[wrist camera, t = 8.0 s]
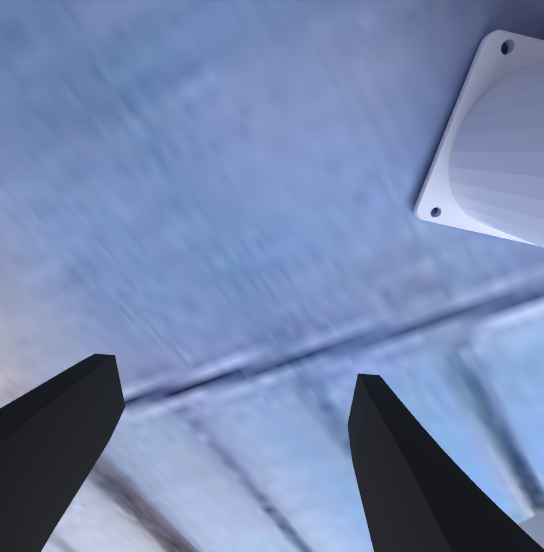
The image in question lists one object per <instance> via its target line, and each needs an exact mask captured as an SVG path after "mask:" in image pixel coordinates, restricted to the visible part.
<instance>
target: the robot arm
mask: <svg viewBox="0 0 544 552" xmlns="http://www.w3.org/2000/svg"><path fill="white" fill-rule="evenodd" d="M504 42H505V43H506V44H507V45H508V51H507V53H506V54H505V55H504V54H503V53H502V52H501V46H502V44H503V43H504ZM435 207H437V208H438V212H437V213H436V215H434V216H431V210H432V209H433V208H435ZM414 214H415V216H416V217H418V218H420V219H422V220H426V221H431V222H435V223H439V224H444V225H448V226H453V227H457V228H462V229H466V230H470V231H475V232H479V233H484V234H488V235H492V236H497V237H501V238H506V239H510V240H515V241H519V242H523V243H528V244H532V245H537V246H541V247H544V40H541V39H537V38H532V37H528V36H524V35H520V34H516V33H512V32H508V31H504V30H495V31H493V32H491V33H489V34H488V35H486V36H485V37H484V38H483V39H482V41H481V43H480V45H479V47H478V50H477V52H476V55H475V57H474V60H473V62H472V65H471V67H470V70H469V72H468V75H467V77H466V80H465V82H464V85H463V87H462V90H461V92H460V95H459V97H458V100H457V102H456V105H455V107H454V110H453V112H452V115H451V117H450V119H449V122H448V124H447V127H446V129H445V132H444V134H443V137H442V139H441V142H440V144H439V147H438V149H437V152H436V154H435V157H434V159H433V162H432V164H431V167H430V169H429V172H428V174H427V177H426V179H425V182H424V184H423V187H422V189H421V192H420V194H419V197H418V199H417V202H416V204H415V207H414ZM124 408H125V403H124V398H123V393H122V388H121V383H120V378H119V373H118V369H117V364H116V359H115V355H104V354H94V355H92V356H90V357H88V358H86V359H84V360H82V361H81V362H79V363H77V364H75V365H74V366H72V367H70V368H68V369H67V370H65V371H63V372H62V373H60V374H58V375H57V376H55V377H53V378H52V379H50V380H48V381H46V382H45V383H43V384H41V385H40V386H38V387H36V388H35V389H33V390H31V391H29V392H28V393H26V394H24V395H23V396H21V397H19V398H17V399H16V400H14V401H12V402H11V403H9V404H7V405H5V406H4V407H2V408H0V552H41V551H42V549H43V547H44V546H45V544H46V542H47V540H48V539H49V537H50V535H51V534H52V532H53V530H54V529H55V527H56V525H57V524H58V522H59V521H60V519H61V517H62V516H63V514H64V513H65V511H66V509H67V508H68V506H69V505H70V503H71V501H72V500H73V498H74V497H75V495H76V493H77V492H78V490H79V489H80V487H81V485H82V484H83V482H84V481H85V479H86V477H87V476H88V474H89V473H90V471H91V469H92V468H93V466H94V465H95V463H96V461H97V460H98V458H99V457H100V455H101V453H102V452H103V450H104V448H105V447H106V445H107V443H108V442H109V440H110V438H111V436H112V434H113V432H114V430H115V428H116V426H117V423H118V421H119V419H120V417H121V415H122V412H123V410H124ZM348 432H349V440H350V447H351V454H352V461H353V466H354V470H355V475H356V479H357V483H358V487H359V491H360V496H361V500H362V504H363V508H364V512H365V516H366V520H367V524H368V528H369V533H370V537H371V541H372V545H373V549H374V552H544V549H543V548H542V547H541V546H540V545H539V544H537V543H536V542H535V541H534V540H533V539H532V538H531V537H530V536H529V535H528V534H526V533H525V531H524V530H522V529H521V528H520V527H519V526H518V525H517V524H516V523H515V522H514V521H513V520H512V519H511V518H510V517H509V516H508V515H507V514H505V513H504V512H503V511H502V510H501V509H500V508H499V507H498V506H497V505H496V504H495V503H494V502H493V501H492V500H491V499H490V498H489V497H488V496H487V495H486V494H485V493H484V492H483V491H482V490H481V489H480V488H479V487H478V486H477V485H476V484H475V483H474V482H473V481H472V480H471V479H470V478H469V477H468V476H467V475H466V474H465V473H464V472H463V471H462V470H461V469H460V468H459V466H458V465H457V464H456V463H455V462H454V461H453V460H452V459H451V458H450V457H449V456H448V455H447V454H446V453H445V452H444V450H443V449H442V448H441V447H440V446H439V445H438V444H437V443H436V441H435V440H434V439H433V438H432V437H431V436H430V435H429V433H428V432H427V431H426V430H425V429H424V428H423V427H422V426H421V424H420V423H419V422H418V421H417V420H416V419H415V417H414V416H413V415H412V414H411V413H410V411H409V410H408V409H407V408H406V407H405V405H404V404H403V403H402V402H401V401H400V399H399V398H398V397H397V396H396V395H395V393H394V392H393V391H392V390H391V389H390V387H389V386H388V385H387V384H386V383H385V381H384V380H383V379H382V378H381V377H380V375H369V374H358V377H357V382H356V386H355V391H354V396H353V401H352V406H351V411H350V416H349V421H348Z"/></svg>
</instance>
